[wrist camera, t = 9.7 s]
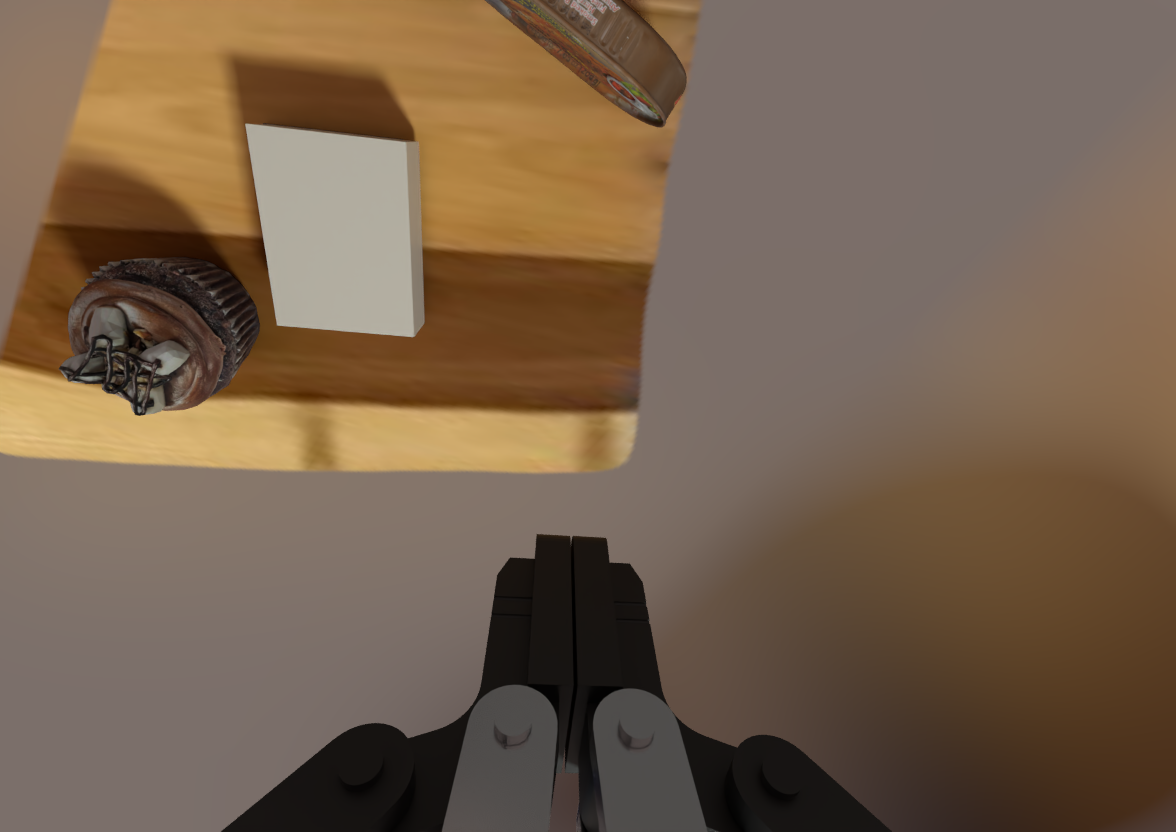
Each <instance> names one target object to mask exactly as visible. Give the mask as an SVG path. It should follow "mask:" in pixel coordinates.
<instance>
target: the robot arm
mask: <svg viewBox="0 0 1176 832" xmlns="http://www.w3.org/2000/svg"><path fill="white" fill-rule="evenodd" d="M564 750H565V773H579V805H578V811H577V818H576V829H577V832H892V831H891V830H890V829H888V828H887V827H886V826H885V825H884V824H883V823H882V822H881V821H880V820H878V819H877V818H876V817H875V816H874V815H872V813H871V812H869V811H868V810H867V809H866V808H865V807H864V806H863V805H862V804H860V803H859V802H858V801H857V800H856V799H855V798H854V797H853V796H851V795H850V794H849V793H848V792H847V791H846V790H845V789H844V788H843V787H841V786H840V785H839V784H838V783H837V782H836V781H835V780H833V778H831V777H830V776H829V775H828V774H827V773H826V772H825V771H824V770H822V769H821V768H820V767H819V766H818V765H817V764H816V763H815V762H813V761H812V760H811V759H810V758H809V757H808V756H807V755H806V754H804V753H803V752H802V751H801V750H800V749H798V748H797V747H796V746H794V745H793V744H791V743H789V742H788V741H785V740H783V739H781V738H778V737H775V736H770V735H756V736H752V737H750V738H748V739H746V740H744V741H743V742H742V743H741V744H740V745H739V746H738V748H737V747H734V746H731V745H728V744H725V743H722V742H720V741H717V740H714V739H712V738H709V737H706V736H704V735H701V734H699V733H697V732H695V731H693V730H692V729H690V728H689V727H687V726H686V725H685V724H683V723H682V722H681V721H680V720H679V719H678V718H677V717H676V716H675V715H674V713H673V712H672V711H671V709H670V708H669V706H668V704H667V703H666V700H665V698H664V695H663V692H662V688H661V682H660V676H659V671H658V665H657V660H656V654H655V649H654V643H653V637H652V632H651V627H650V624H649V615H648V610H647V607H646V599H645V593H644V588H643V583H642V581H641V579H640V578H639V576H638V575H637V574H636V572H635V571H634V569H633V568H632V566H631V565H630V564H626V563H625V564H624V563H609V554H608V546H607V539H606V538H599V537H581V536H573V537H572V541H571V542H570V536H561V535H560V536H559V535H543V534H537V538H536V550H535V559H526V558H510V559H509V560H508V561H507V563H506V564H505V565H504V567H503V568H502V569H501V571H500V572H499V573H498V575H497V581H496V587H495V594H494V601H493V608H492V616H491V622H490V628H489V635H488V642H487V648H486V655H485V662H484V669H483V676H482V682H481V687H480V691H479V693H478V696H477V698H476V700H475V701H474V703H473V705H472V706H471V707H470V708H469V710H468V711H467V712H466V713H465V714H464V715H462V716H461V718H459V719H458V720H456V721H455V722H453V723H451V724H449V725H447V726H446V727H443V728H440V729H438V730H435V731H431V732H428V733H425V734H421V735H418V736H415V737H411V738H407V737H406V736H405V735H404V733H402V732H401V731H400V730H399V729H397V728H395V727H393V726H390V725H386V724H380V723H372V724H365V725H360V726H357V727H354V728H352V729H349V730H348V731H346V732H344V733H342V734H341V735H339V736H338V737H337V738H335V739H334V740H332V741H331V742H330V743H329V744H328V745H326V746H325V747H324V748H323V749H321V750H320V751H319V752H318V753H317V754H315V755H314V756H313V757H312V758H311V759H309V760H308V761H307V762H306V763H304V764H303V765H302V766H301V767H300V768H298V769H297V770H296V771H295V772H293V773H292V774H291V775H290V776H288V777H287V778H286V779H285V780H284V781H282V782H281V783H280V784H279V785H277V786H276V787H275V788H274V789H273V790H271V791H270V792H269V793H268V794H266V795H265V796H264V797H263V798H262V799H260V800H259V801H258V802H257V803H255V804H254V805H253V806H252V807H251V808H249V809H248V810H247V811H246V812H245V813H243V814H242V815H241V816H240V817H238V818H237V819H236V820H235V821H233V822H232V823H231V824H230V825H229V826H227V827H226V828H225V829H224V830H222V831H221V832H549V822H550V814H551V807H552V799H553V792H554V785H555V777H556V773H561V771H562V764H563V757H564Z"/></svg>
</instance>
